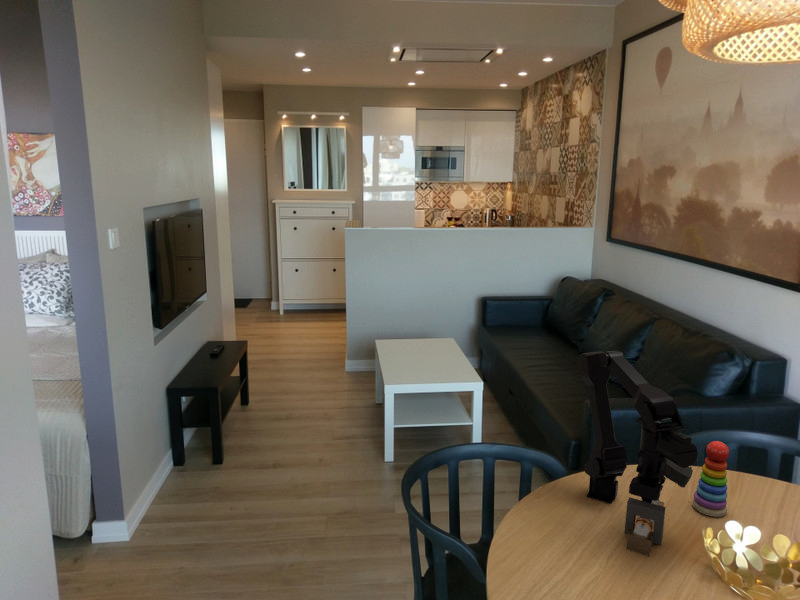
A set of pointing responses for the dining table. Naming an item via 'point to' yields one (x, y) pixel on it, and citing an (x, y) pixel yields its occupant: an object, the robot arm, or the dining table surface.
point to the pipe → (641, 535)
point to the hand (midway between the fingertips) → (647, 506)
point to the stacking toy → (713, 482)
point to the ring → (647, 512)
